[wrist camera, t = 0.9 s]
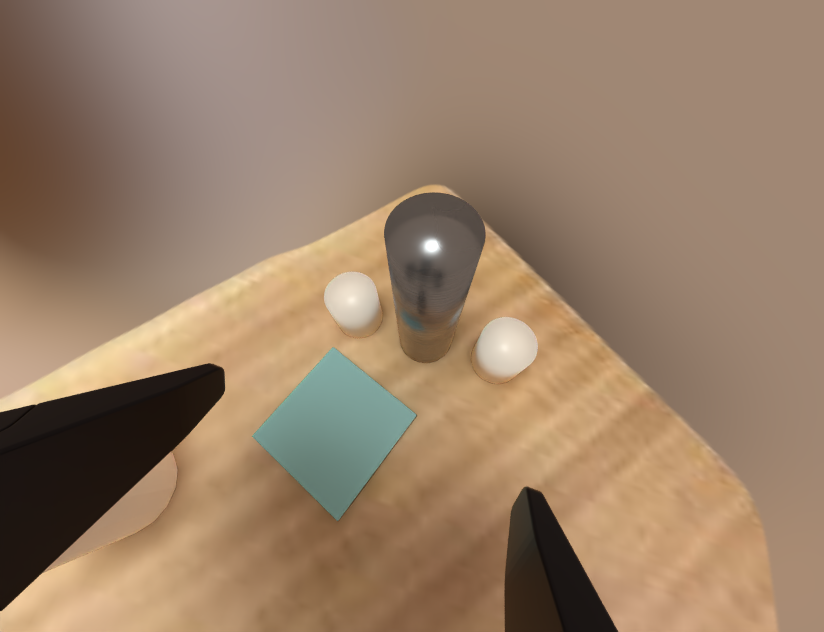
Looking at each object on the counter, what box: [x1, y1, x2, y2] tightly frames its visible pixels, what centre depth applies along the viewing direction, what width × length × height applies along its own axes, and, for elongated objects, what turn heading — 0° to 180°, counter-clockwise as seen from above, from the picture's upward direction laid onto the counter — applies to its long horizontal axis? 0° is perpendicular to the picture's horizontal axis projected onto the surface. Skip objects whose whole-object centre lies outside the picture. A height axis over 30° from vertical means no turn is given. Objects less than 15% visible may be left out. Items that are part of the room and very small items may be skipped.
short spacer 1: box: [324, 272, 383, 338], centre depth 23 cm, size 4×4×4 cm
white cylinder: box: [43, 452, 178, 573], centre depth 18 cm, size 7×7×7 cm
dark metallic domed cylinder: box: [384, 193, 485, 363], centre depth 19 cm, size 4×4×13 cm
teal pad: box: [252, 347, 417, 521], centre depth 22 cm, size 8×8×1 cm
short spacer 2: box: [471, 317, 538, 384], centre depth 22 cm, size 4×4×4 cm
